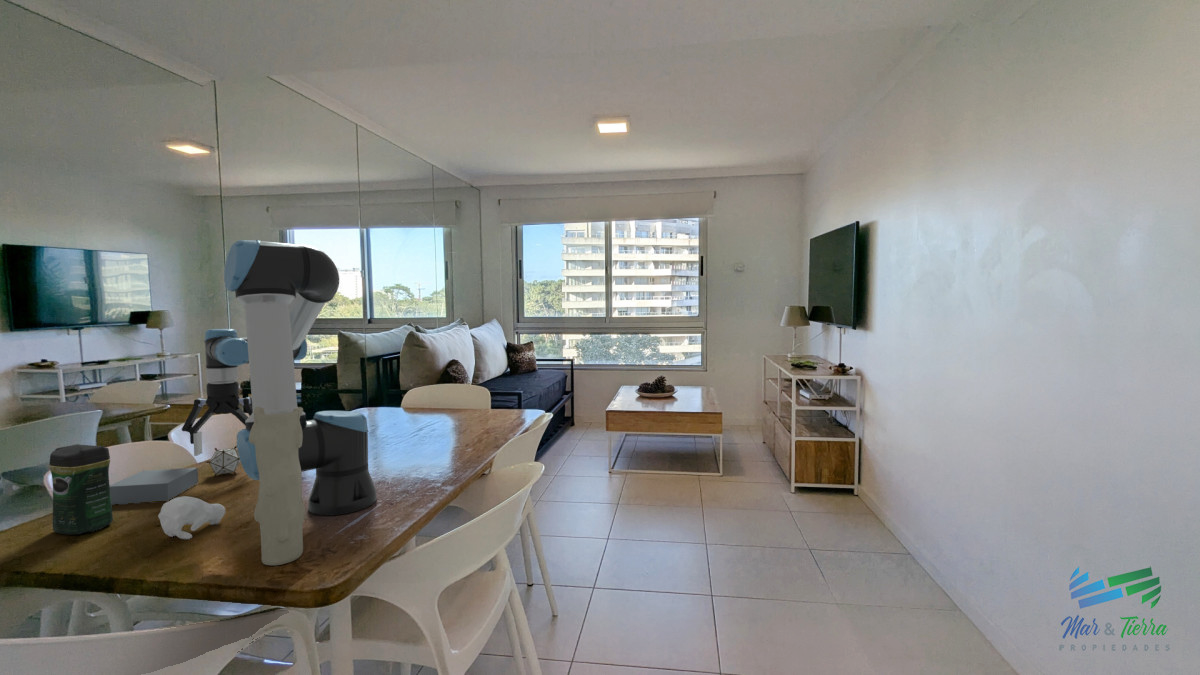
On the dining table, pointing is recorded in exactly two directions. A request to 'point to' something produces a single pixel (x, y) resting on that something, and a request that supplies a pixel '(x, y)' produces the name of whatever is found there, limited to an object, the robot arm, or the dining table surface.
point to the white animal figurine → (188, 515)
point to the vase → (279, 485)
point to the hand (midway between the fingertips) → (224, 453)
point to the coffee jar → (80, 488)
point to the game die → (224, 461)
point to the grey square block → (153, 485)
